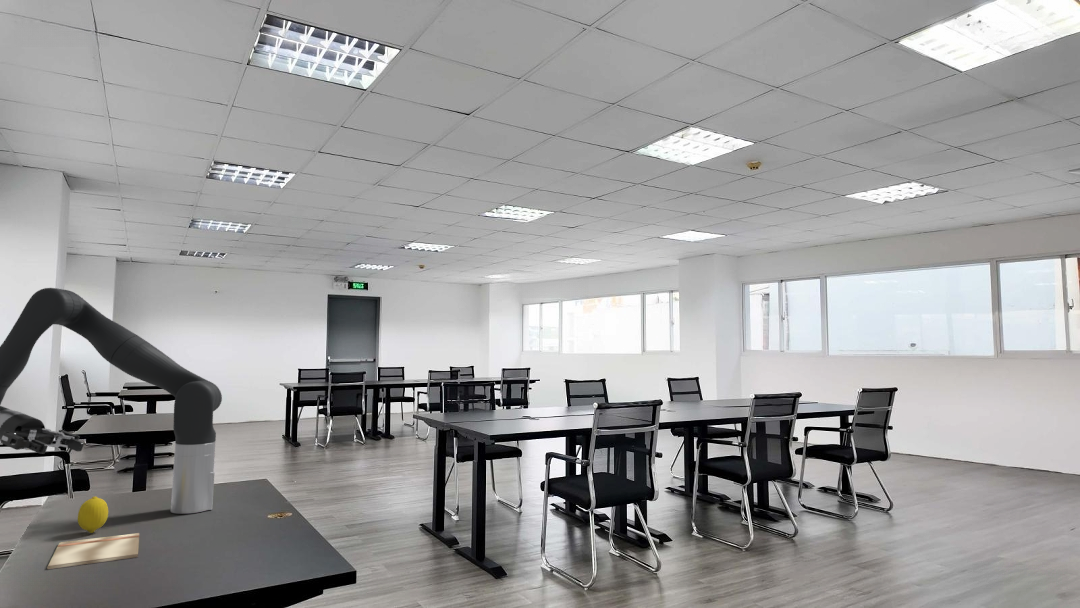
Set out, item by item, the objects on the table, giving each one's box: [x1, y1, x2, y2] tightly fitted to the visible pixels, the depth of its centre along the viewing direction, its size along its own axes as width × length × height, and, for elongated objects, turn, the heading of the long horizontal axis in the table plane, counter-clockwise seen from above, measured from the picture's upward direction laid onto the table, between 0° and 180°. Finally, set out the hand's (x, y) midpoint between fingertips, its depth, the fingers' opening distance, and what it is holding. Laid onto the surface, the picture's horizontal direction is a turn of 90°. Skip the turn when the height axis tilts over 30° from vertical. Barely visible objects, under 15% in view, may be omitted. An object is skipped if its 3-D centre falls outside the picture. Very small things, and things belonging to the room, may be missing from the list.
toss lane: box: [46, 532, 140, 570], centre depth 123 cm, size 14×18×1 cm
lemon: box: [77, 495, 109, 534], centre depth 136 cm, size 6×6×8 cm
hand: (63, 448), depth 141 cm, fingers open, 8 cm apart
